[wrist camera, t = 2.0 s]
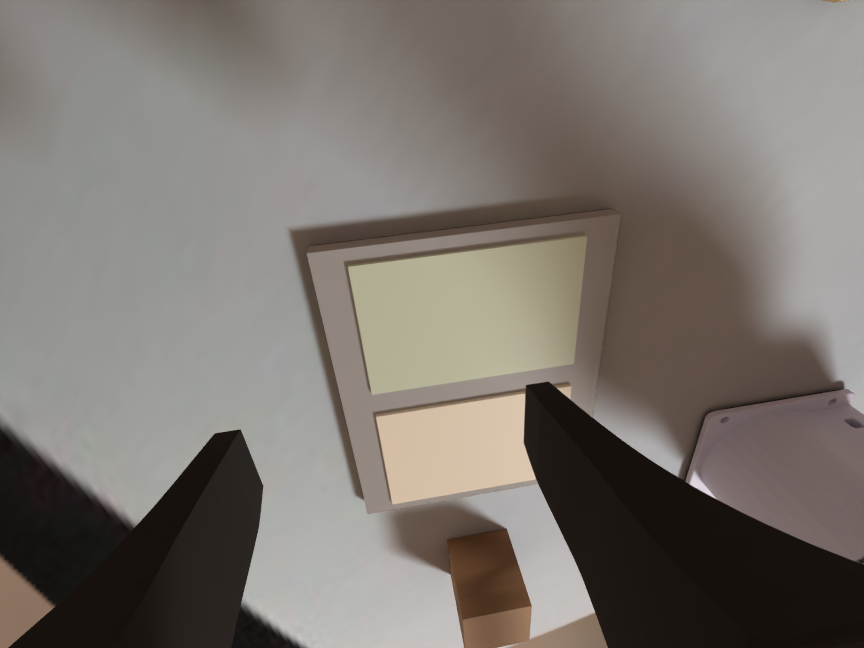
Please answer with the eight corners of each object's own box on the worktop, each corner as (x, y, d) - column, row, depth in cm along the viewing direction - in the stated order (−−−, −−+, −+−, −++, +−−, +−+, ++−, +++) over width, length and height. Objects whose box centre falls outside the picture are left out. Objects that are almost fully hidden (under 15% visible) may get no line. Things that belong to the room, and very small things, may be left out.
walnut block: (506, 528, 30) (531, 605, 26) (505, 563, 32) (529, 640, 28) (447, 539, 30) (462, 619, 25) (450, 573, 32) (465, 653, 27)
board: (611, 208, 19) (623, 215, 19) (578, 465, 28) (585, 478, 27) (308, 246, 18) (306, 255, 17) (367, 502, 27) (367, 517, 26)
